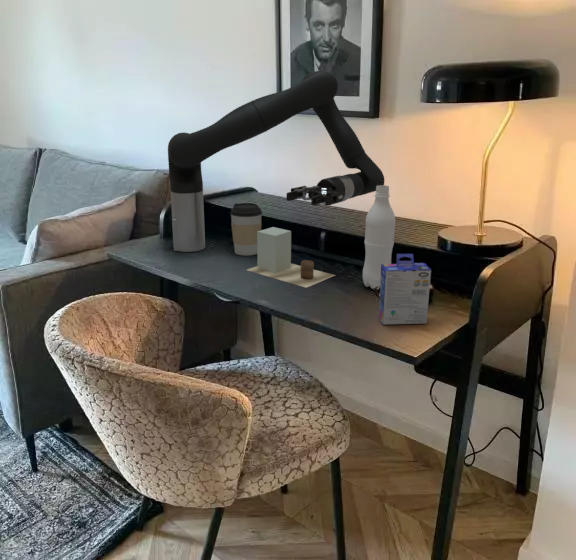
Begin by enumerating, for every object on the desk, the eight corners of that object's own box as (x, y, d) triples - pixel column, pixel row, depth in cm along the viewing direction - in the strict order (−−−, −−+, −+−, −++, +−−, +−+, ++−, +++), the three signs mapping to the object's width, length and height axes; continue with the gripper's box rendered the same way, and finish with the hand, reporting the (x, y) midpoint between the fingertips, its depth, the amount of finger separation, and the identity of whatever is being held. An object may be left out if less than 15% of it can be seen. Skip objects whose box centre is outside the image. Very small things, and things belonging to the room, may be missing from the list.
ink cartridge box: (420, 314, 134) (426, 251, 129) (428, 324, 129) (434, 259, 124) (376, 315, 133) (380, 252, 129) (382, 325, 128) (386, 260, 123)
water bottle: (394, 291, 148) (401, 189, 139) (364, 291, 147) (370, 189, 139) (387, 281, 154) (394, 183, 146) (359, 281, 154) (364, 183, 146)
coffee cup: (264, 251, 178) (264, 201, 173) (260, 261, 169) (259, 208, 164) (234, 250, 178) (233, 200, 173) (228, 259, 170) (226, 207, 165)
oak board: (246, 274, 158) (245, 255, 157) (276, 263, 167) (276, 245, 165) (306, 292, 146) (306, 271, 145) (335, 279, 155) (336, 260, 153)
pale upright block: (257, 268, 159) (257, 231, 156) (273, 262, 164) (273, 227, 160) (275, 273, 156) (275, 235, 152) (290, 267, 160) (291, 231, 157)
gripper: (315, 173, 176) (279, 182, 164) (356, 179, 167) (321, 188, 156) (315, 199, 179) (279, 209, 167) (355, 206, 170) (320, 217, 158)
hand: (299, 199), depth 161 cm, fingers open, 8 cm apart
